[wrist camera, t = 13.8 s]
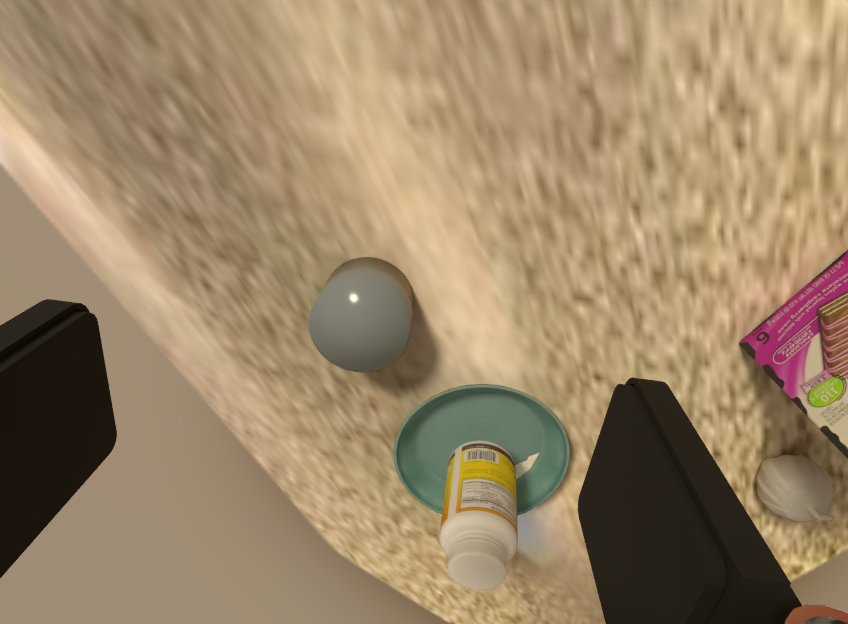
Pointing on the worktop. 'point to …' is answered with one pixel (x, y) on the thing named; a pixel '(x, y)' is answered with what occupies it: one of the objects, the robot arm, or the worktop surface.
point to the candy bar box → (811, 350)
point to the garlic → (795, 488)
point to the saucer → (487, 421)
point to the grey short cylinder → (363, 315)
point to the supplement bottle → (479, 514)
